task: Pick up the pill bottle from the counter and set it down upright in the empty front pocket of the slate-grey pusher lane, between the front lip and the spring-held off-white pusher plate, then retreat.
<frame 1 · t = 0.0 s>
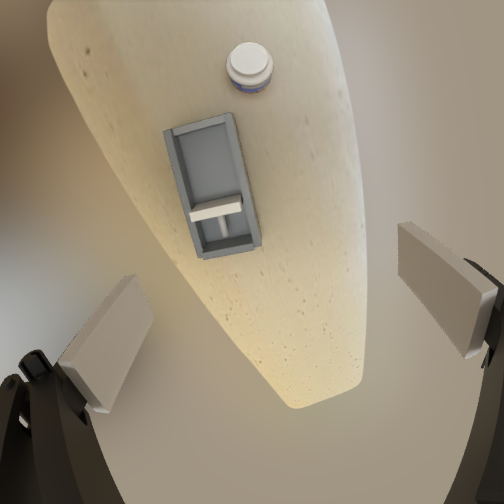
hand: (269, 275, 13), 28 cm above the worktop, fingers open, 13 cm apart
lane: (216, 183, 39), on the worktop
pill bottle: (251, 76, 34), on the worktop
pusher: (220, 220, 38), point 4 cm above the worktop, slide at 0.0 cm
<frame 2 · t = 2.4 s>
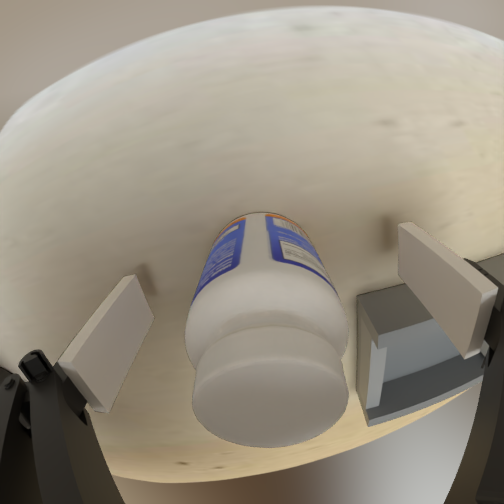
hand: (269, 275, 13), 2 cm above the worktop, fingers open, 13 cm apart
lane: (461, 316, 17), on the worktop
pill bottle: (262, 257, 15), on the worktop
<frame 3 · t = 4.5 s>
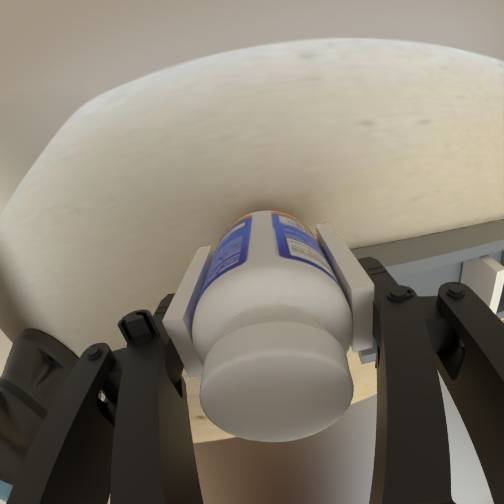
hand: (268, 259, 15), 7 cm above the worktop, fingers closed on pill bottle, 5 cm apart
lane: (439, 277, 22), on the worktop
pill bottle: (268, 255, 16), point 6 cm above the worktop, touching gripper
pusher: (492, 285, 18), point 4 cm above the worktop, slide at 0.0 cm
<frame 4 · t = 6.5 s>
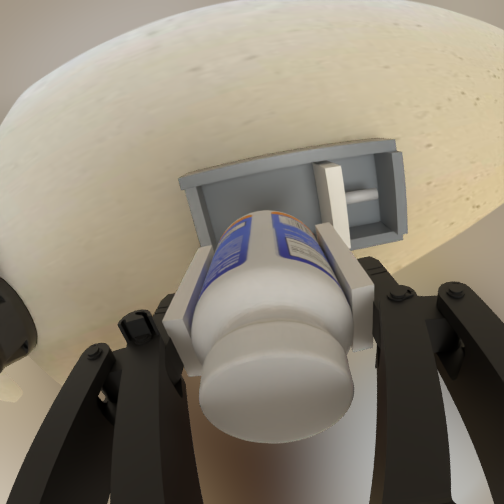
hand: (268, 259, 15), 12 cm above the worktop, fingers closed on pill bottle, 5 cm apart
lane: (294, 198, 26), on the worktop
pill bottle: (268, 255, 16), point 12 cm above the worktop, touching gripper
pusher: (351, 198, 22), point 4 cm above the worktop, slide at 0.0 cm
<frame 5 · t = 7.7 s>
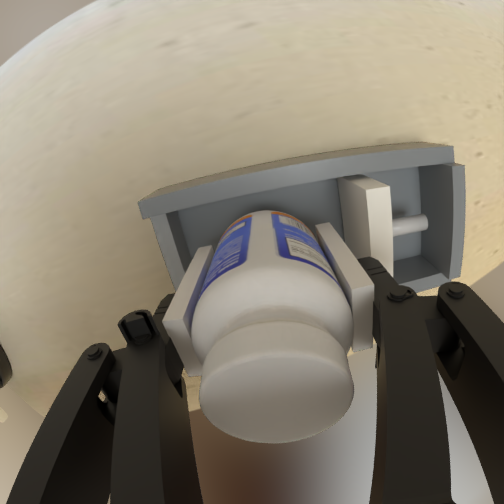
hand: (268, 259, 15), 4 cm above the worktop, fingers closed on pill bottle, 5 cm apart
lane: (309, 225, 19), on the worktop
pill bottle: (268, 255, 16), point 4 cm above the worktop, touching gripper
pusher: (393, 230, 15), point 4 cm above the worktop, slide at 0.0 cm
when the fingers open (2 cm above the worktop, at t = 8.9 s): pill bottle stays where it is, resting on lane.
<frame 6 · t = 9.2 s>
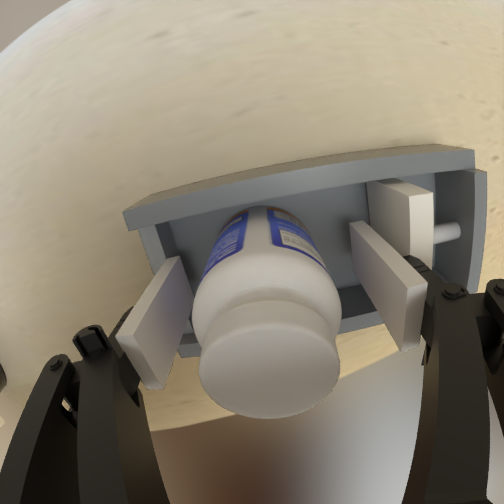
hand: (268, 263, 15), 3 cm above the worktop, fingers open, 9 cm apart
lane: (315, 235, 17), on the worktop
pill bottle: (263, 248, 16), point 1 cm above the worktop, touching lane
pusher: (426, 239, 13), point 4 cm above the worktop, slide at 1.1 cm, touching gripper
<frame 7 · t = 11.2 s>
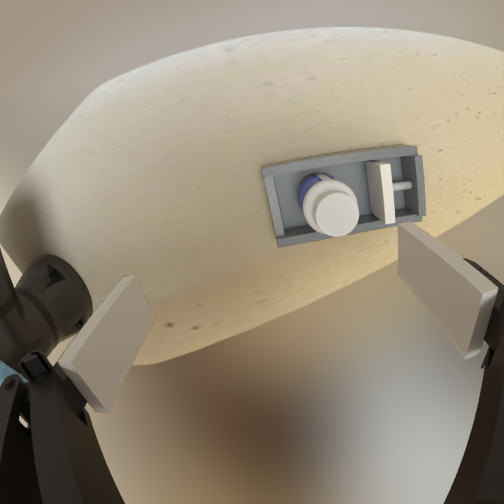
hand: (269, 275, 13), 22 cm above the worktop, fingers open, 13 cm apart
lane: (342, 188, 33), on the worktop
pill bottle: (318, 193, 33), point 1 cm above the worktop, touching lane
pusher: (393, 187, 29), point 4 cm above the worktop, slide at 1.0 cm
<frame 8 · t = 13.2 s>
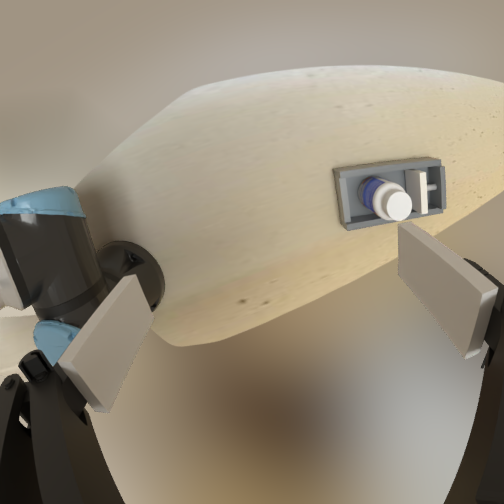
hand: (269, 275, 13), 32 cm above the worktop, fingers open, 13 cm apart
lane: (387, 188, 42), on the worktop
pill bottle: (372, 191, 42), point 1 cm above the worktop, touching lane
pusher: (425, 188, 38), point 4 cm above the worktop, slide at 1.0 cm
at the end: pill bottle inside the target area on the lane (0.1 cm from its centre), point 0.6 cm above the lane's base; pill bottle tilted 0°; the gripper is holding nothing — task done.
